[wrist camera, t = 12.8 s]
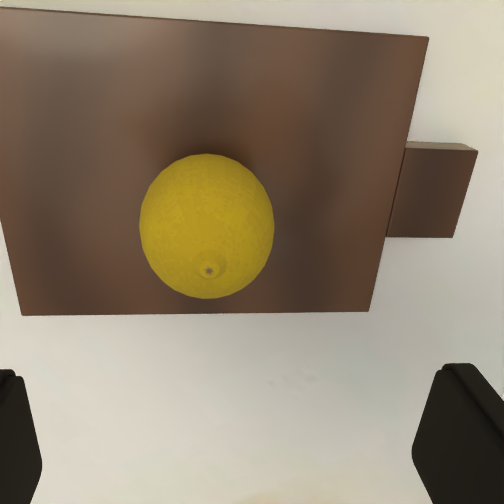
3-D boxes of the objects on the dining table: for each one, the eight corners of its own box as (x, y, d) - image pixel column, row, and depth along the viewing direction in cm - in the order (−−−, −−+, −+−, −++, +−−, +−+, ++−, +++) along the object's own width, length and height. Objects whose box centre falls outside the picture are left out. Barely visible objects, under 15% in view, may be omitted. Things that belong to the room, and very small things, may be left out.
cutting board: (491, 41, 21) (512, 42, 20) (419, 297, 28) (431, 311, 27) (-30, 5, 18) (-49, 2, 17) (31, 300, 25) (21, 316, 24)
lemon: (130, 160, 20) (93, 230, 13) (239, 118, 20) (260, 166, 13) (178, 255, 23) (168, 356, 16) (275, 219, 23) (309, 306, 16)
